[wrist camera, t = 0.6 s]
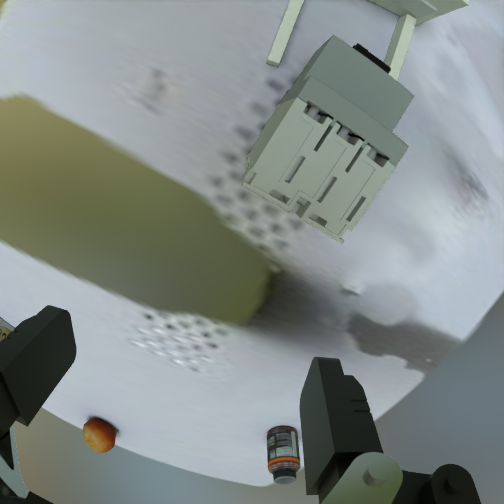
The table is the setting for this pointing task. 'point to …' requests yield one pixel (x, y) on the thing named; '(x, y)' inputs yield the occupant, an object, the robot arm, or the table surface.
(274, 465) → the supplement bottle
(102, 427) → the fruit
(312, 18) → the table surface
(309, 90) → the circuit breaker
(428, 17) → the rail bracket
